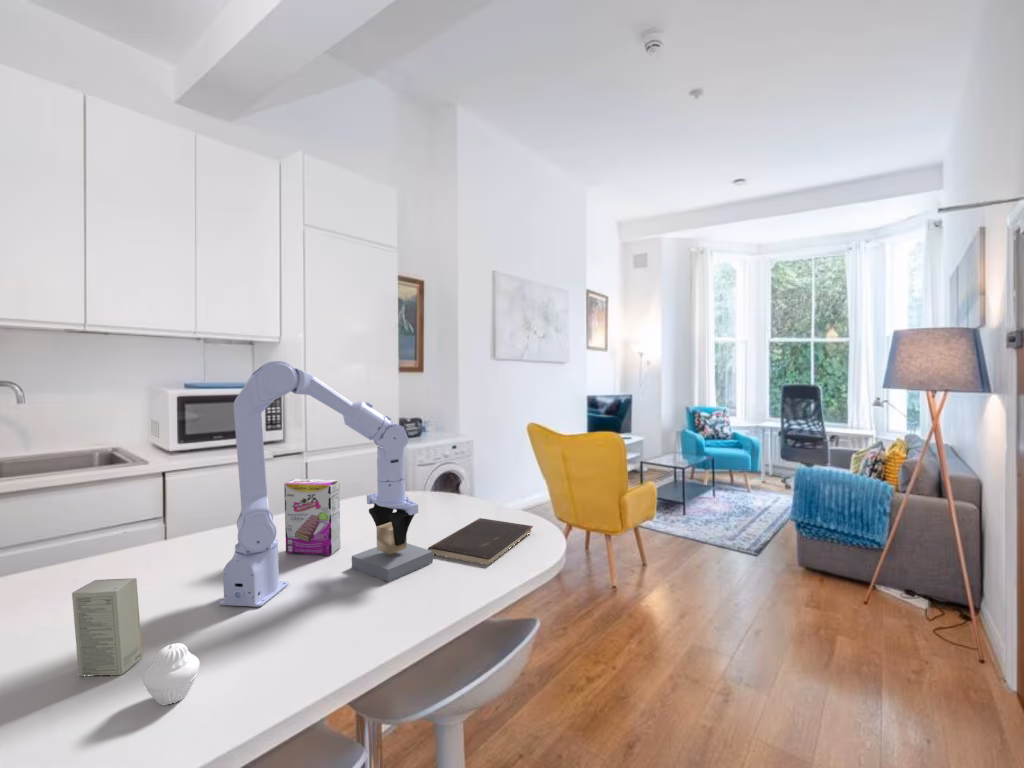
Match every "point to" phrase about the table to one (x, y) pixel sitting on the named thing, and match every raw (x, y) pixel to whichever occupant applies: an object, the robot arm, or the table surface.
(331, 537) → the candy bar box
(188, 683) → the muffin
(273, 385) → the robot arm
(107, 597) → the skincare box
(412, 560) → the slate base
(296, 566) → the table surface
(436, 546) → the hardcover book
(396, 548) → the oak block
